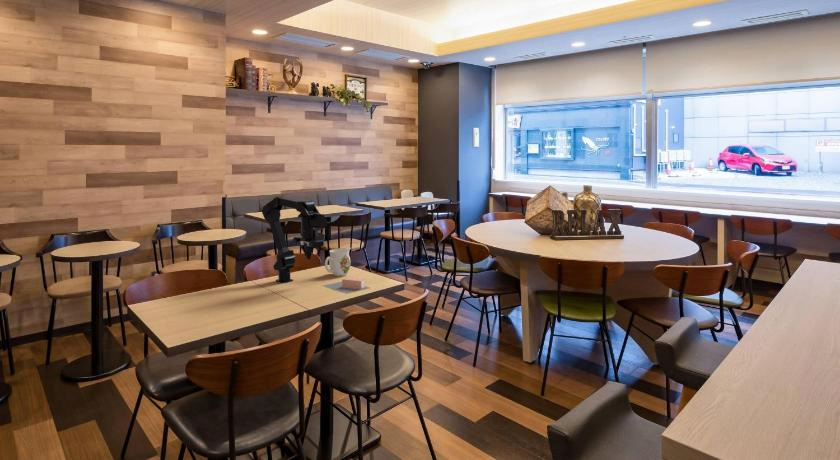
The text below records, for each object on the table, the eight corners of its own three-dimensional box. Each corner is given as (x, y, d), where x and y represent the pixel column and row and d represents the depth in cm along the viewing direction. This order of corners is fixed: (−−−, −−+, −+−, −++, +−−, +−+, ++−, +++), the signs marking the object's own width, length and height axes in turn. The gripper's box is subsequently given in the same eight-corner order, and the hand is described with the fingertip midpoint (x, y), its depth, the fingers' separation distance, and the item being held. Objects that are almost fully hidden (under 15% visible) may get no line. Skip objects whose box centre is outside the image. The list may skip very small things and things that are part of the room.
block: (342, 279, 240) (360, 281, 236) (346, 277, 243) (365, 279, 239) (342, 287, 240) (361, 289, 236) (346, 285, 244) (365, 287, 240)
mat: (322, 286, 244) (321, 285, 244) (345, 281, 253) (345, 280, 253) (346, 294, 229) (346, 293, 229) (371, 288, 239) (371, 287, 239)
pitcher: (318, 277, 262) (317, 251, 260) (344, 271, 276) (343, 246, 274) (333, 280, 256) (332, 253, 254) (358, 273, 270) (357, 248, 268)
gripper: (333, 227, 241) (333, 259, 243) (311, 223, 254) (312, 254, 256) (312, 229, 233) (313, 262, 235) (291, 225, 246) (293, 257, 248)
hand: (308, 259), depth 244 cm, fingers closed
